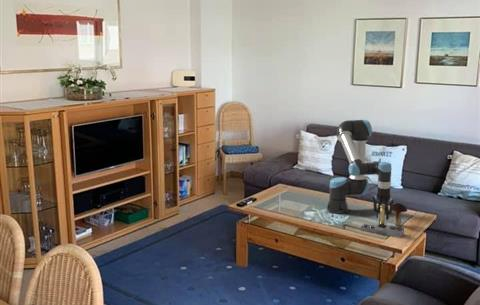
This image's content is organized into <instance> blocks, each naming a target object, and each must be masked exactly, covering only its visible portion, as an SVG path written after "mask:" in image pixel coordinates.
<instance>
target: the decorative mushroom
mask: <svg viewBox="0 0 480 305" xmlns="http://www.w3.org/2000/svg"><path fill="white" fill-rule="evenodd" d="M392 212H395V214H394V221H393V223H394V225H395V226H396V227H400V226H401V224H402V214H401V213H405V212H408V208H407V206H406V205H404V204H402V203H400V202H397V203H393V210H392Z"/></svg>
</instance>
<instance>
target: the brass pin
mask: <svg viewBox="0 0 480 305" xmlns="http://www.w3.org/2000/svg"><path fill="white" fill-rule="evenodd" d="M379 213H380V223H379V227H383V228H385V225H384V221H385V214H386V210H385V204H381V205H380V212H379Z"/></svg>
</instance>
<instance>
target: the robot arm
mask: <svg viewBox="0 0 480 305" xmlns="http://www.w3.org/2000/svg"><path fill="white" fill-rule="evenodd" d="M336 129H337V130H336V138H337V139H338V141H339V142H340V143H341V145H342V148H343V149H344V153H345V155H346V157H347V160H348V163H349V165H348V173H349V176H348V178H347V177H341V176H339V177H335V178H334V177H333V178H332V179H331V180H330V181H329V200H328V202H327V205H326V211H327V212H328V211H329V213H332V214H337V215H338V214H339V215H340V214H347V213H348V212H349V206H348V203H347V197H354V196H358V197H359V196H365V195H366V194H367V193H368V191H369V185H370V184H369V181H368V178H366V177H367V176H370V175H376V176H377V192H376V195H372V200H373V201H372V202H373V213H376V219H377V224H380V205H385V210H386V214H385V221H384V225H388V220H390V219H389V218H390V215H392V214H393V211H392V210H393V205H394V202H395V200H396V199H395V198H392V197H391V186H392V184H391V181H392V178H391V177H392V164H391V162H388V161H377V160H373V161H372V162H366V144H367V142H368V141H369V138H370V137H371V136H372V135H373V128H372V125H371V123H370V121H369V120H367V119H355V120H354V119H352V120H344V121H342V122H341V123H340V124H339V125H338V126H337V128H336ZM377 200H378V201H377ZM377 202H378V204H377ZM389 202H390V203H389ZM383 203H384V204H383Z"/></svg>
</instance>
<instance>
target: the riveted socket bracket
mask: <svg viewBox="0 0 480 305" xmlns="http://www.w3.org/2000/svg"><path fill="white" fill-rule="evenodd" d="M379 224H380V223H379ZM379 224H378V223H377V224H376V225H374V224H367V223H363V224H362V225H361V226H360V231H363V232H368V233H373V234H377V235H378V234H379V235H383V236H391V237H393V238H399V237H400V238H402V237H403V236H404V235H405V227H401V226H397V225H395V226H394V225H389V224H386V225H385V228H383V227H379Z"/></svg>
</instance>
